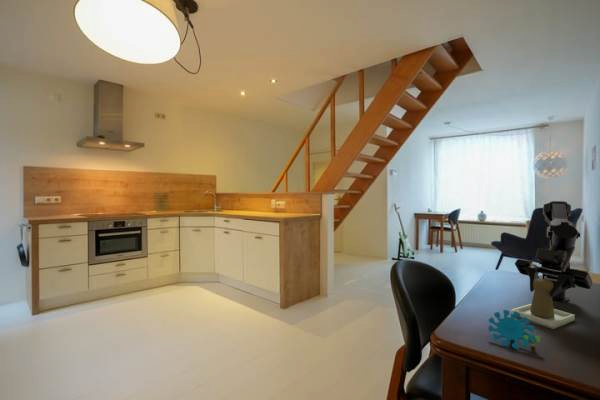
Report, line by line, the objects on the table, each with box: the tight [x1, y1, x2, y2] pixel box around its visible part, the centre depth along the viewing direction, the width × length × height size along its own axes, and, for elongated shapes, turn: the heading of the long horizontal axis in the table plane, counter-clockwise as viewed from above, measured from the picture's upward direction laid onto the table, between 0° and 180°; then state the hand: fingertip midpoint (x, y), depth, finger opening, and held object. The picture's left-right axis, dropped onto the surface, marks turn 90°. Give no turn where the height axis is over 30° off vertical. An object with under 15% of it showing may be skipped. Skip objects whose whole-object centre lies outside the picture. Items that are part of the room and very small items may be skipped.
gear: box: [488, 309, 542, 350], centre depth 77 cm, size 11×6×10 cm
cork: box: [530, 278, 555, 318], centre depth 93 cm, size 6×6×11 cm
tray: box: [510, 303, 576, 330], centre depth 93 cm, size 14×11×2 cm
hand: (541, 293), depth 92 cm, fingers open, 5 cm apart
